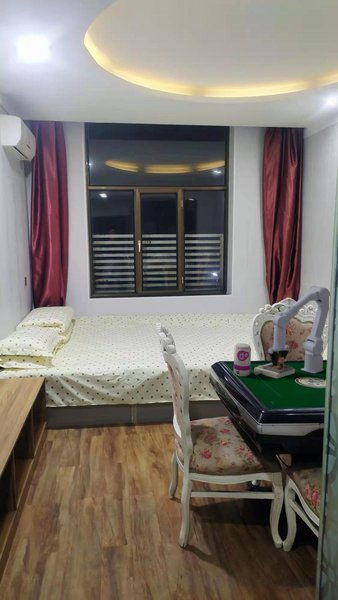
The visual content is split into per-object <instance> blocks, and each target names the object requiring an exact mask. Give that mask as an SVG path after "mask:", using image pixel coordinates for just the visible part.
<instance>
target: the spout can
mask: <svg viewBox="0 0 338 600" xmlns="http://www.w3.org/2000/svg"><path fill="white" fill-rule="evenodd" d="M286 362H287V359H286V358H285V359H284V357H283V356H279V357H278V362H277V366H273V368H275V369H278V370H281V369H283V365H285V363H286Z"/></svg>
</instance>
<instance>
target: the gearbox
mask: <svg viewBox="0 0 338 600" xmlns="http://www.w3.org/2000/svg"><path fill="white" fill-rule="evenodd" d="M295 372H296V369H295V368H293V366H289V365H285V364H284V365H283V369H281V370H278V369H275V368H273V365H272V362H270V363H267V364H263V365H258V366H256V367H254V369H253V374H254V376H257V375H264V376H267V377H270V378H274V379H280V378H282V377H286V376H290V375H292V374H295Z"/></svg>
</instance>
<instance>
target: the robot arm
mask: <svg viewBox="0 0 338 600" xmlns="http://www.w3.org/2000/svg"><path fill="white" fill-rule="evenodd" d="M330 293H331V292H330V290H329V289H328V288H326V287H321V286H317V285H313V286H310V287H309V288H308V289H306V292H305V293H304V294H303V295H302V296H301V297H300V298H299V299H298V300H297V301H296V302H295V303H294V304H290V305H287V306H286V308H285V309H284V310H282V312H280V313H279V314H276V315H275V316H274V317H273V319H272V320H271V322H272V324H273V329H274V330H273V345H272V347H270V348H268V349H267V350H268V355H269V357H270V360H271V363H272V365H273V366H277V362H278V357H279V356H283V357H284V359H286V358H287V356H288V354H289V353H290V352H289V351H290V350H289V349H290V345H288V344H286V330H287V327H288V326H289V323H290V321H291V320H293V318H295V317H296V316H297V315H298V314H299V311H300V310H301V308H303V307H305V306H306V305H307V304H308V303H310V302H311V301H315V303H316V304H317V310H316V313H315V316H314V320H313V324H312V327H311V330H310V334H309V335H308V336H307V337H306V338H305V340H304V341H303V344H302V348H303V350H304V354H305V355H304V367H303V368H300V370H301V371H303V372H308V373H311V374H317V373H320V372H322V371H324V370H325V369H323V367H324V357H323V355H322V354H323V352H324V340H323V338H322V336H323V332H324V329H325V325H326V321H327V318H328V314H329V311H330V308H329V296H330V297H331V295H330Z"/></svg>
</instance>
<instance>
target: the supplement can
mask: <svg viewBox="0 0 338 600" xmlns="http://www.w3.org/2000/svg"><path fill="white" fill-rule="evenodd" d="M233 351H234V353H233V355H234V357H233V374H234V375H235V374H236V375H235V376H237V375H238V377H247V376H249V375H250V374H251V361H252V347H251V345H250V344H248V343H236V344H235V347H234V350H233Z"/></svg>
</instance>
